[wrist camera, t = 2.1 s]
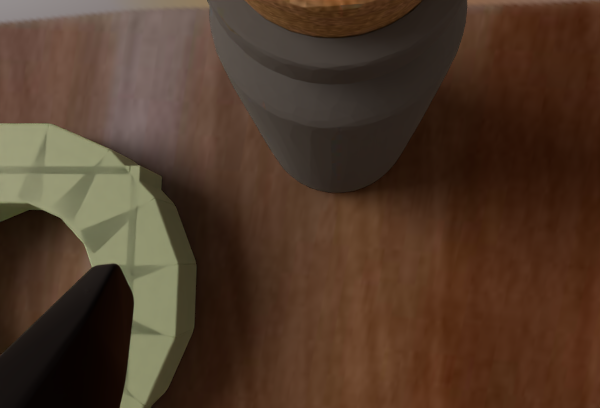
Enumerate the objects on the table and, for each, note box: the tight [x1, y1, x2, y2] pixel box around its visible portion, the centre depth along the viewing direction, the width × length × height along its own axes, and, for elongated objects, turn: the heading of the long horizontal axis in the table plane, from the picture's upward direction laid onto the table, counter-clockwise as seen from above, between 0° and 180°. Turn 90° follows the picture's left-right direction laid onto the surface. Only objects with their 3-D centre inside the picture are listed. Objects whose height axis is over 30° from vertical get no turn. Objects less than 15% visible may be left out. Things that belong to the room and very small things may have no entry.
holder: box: [0, 123, 197, 408], centre depth 21 cm, size 13×13×2 cm
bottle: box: [207, 0, 467, 193], centre depth 15 cm, size 6×6×15 cm
